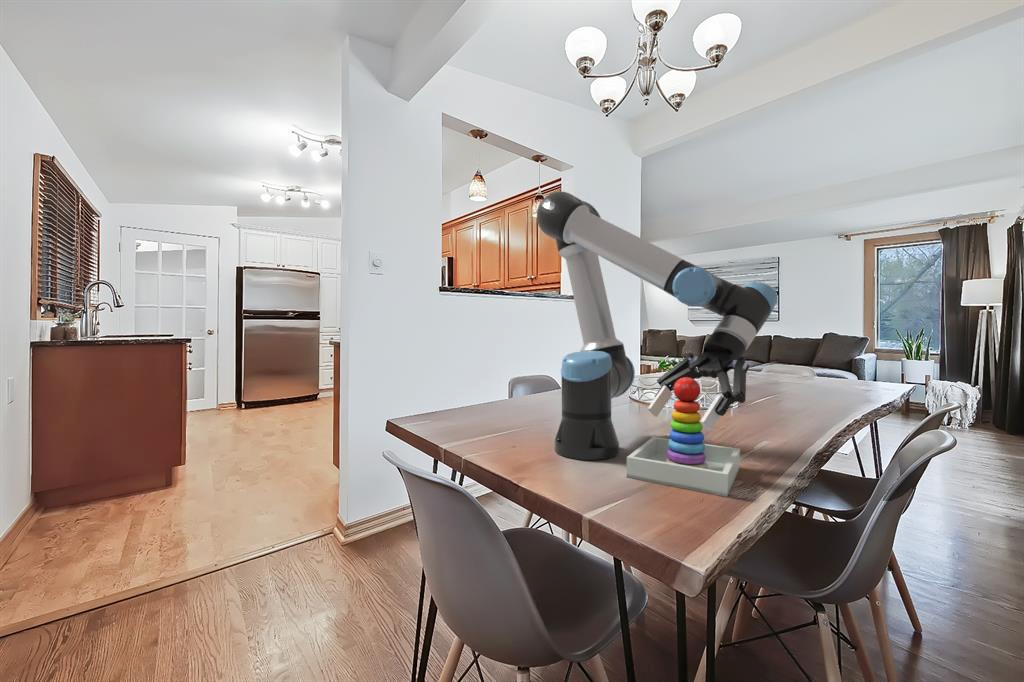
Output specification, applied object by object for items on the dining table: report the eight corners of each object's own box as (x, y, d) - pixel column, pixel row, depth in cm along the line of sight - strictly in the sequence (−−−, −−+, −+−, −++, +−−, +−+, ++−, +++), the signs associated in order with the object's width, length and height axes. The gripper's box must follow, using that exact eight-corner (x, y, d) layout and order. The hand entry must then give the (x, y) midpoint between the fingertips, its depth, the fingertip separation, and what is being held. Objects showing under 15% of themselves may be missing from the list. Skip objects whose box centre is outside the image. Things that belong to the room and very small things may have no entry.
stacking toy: (716, 473, 85) (718, 379, 84) (682, 478, 83) (683, 381, 82) (689, 461, 93) (690, 374, 92) (657, 465, 91) (658, 376, 90)
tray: (626, 477, 86) (626, 457, 85) (652, 453, 101) (652, 436, 100) (727, 497, 76) (727, 474, 75) (739, 467, 90) (740, 448, 90)
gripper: (796, 357, 83) (742, 446, 77) (690, 350, 105) (642, 418, 99) (779, 330, 80) (722, 419, 74) (674, 329, 102) (624, 397, 96)
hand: (676, 419), depth 87 cm, fingers open, 13 cm apart
